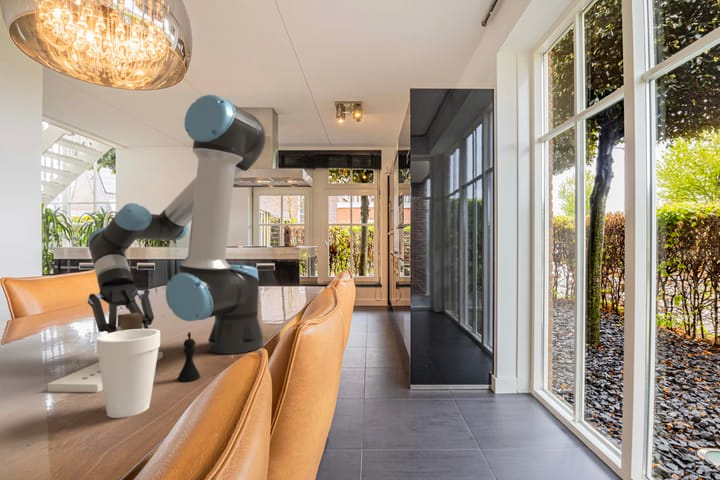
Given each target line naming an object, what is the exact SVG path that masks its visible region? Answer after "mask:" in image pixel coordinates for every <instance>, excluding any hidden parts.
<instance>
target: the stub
mask: <svg viewBox="0 0 720 480" xmlns="http://www.w3.org/2000/svg"><path fill="white" fill-rule="evenodd" d="M117 326H121V330H122V331H123V330H131V329H142V314H139V313H130V312H129V313H122V314H117Z"/></svg>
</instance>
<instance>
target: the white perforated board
mask: <svg viewBox="0 0 720 480" xmlns="http://www.w3.org/2000/svg"><path fill="white" fill-rule="evenodd" d="M163 356H164V355H163V351H158V355H157V361H159V360H161V359H163ZM101 391H103V385H102V378H101V371H100V364H99V361H97V362H96V363H93V364H91V365H89V366H86V367H84V368H82V369H80V370H78V371H75V372H72V373H70V374H67V375H66V376H63V377H61V378H58V379H55V380H53V381H51V382H49V383H47V392H52V393H53V392H54V393H55V392H56V393H57V392H58V393H63V392H64V393H99V392H101Z"/></svg>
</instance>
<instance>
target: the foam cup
mask: <svg viewBox="0 0 720 480" xmlns="http://www.w3.org/2000/svg"><path fill="white" fill-rule="evenodd" d="M160 346H161V330H159V329H155V328H149V329H131V330H123V331H116V332H112V333H104V334H102V335H99V336H98V337H97V339H96V354H97V356H98V362H99V364H100V371H101V378H102V385H103V390H102V391H103V398H104V404H105V411H106V416H108V417H109V418H112V419H113V418H114V419H121V418H122V419H123V418H130V417H132V416H133V417H134V416H136V415H137V416H138V415H139V414H142V413H144V412H146V411H147V410H148V409H149V408H150V404H151V401H152V393H153V386H154V380H155V374H156V367H157V362H158V360H157V355H158V352H159V348H160Z"/></svg>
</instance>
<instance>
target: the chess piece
mask: <svg viewBox="0 0 720 480" xmlns="http://www.w3.org/2000/svg"><path fill="white" fill-rule="evenodd" d="M191 335H192V333H191V332H190V331H189V332H188V333H187V337H188V338H187V339H185V340H184V342H183V343H182V344H183V346H184V347H183V348H184V349H183V350H182V351H183V353H184V356H185V361H184V365H183V366H182V369H181V371H180V372H179V374H178V377H177V382H179V383H190V382H194V381H197V380H199V379H200V378H201V374H200V371H199V370H198V369H197V367H196V365H195V362H194V359H193V358H194V353H195V351H196V348H195V345H196V341H195V340H194V339H193V338H191V337H192V336H191Z"/></svg>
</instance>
